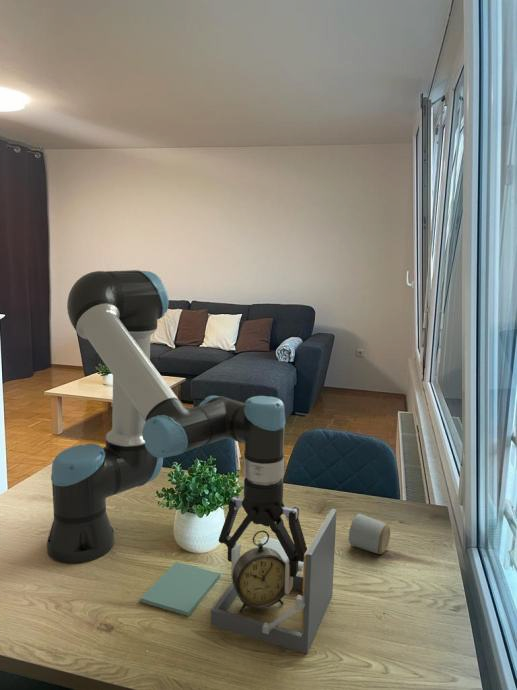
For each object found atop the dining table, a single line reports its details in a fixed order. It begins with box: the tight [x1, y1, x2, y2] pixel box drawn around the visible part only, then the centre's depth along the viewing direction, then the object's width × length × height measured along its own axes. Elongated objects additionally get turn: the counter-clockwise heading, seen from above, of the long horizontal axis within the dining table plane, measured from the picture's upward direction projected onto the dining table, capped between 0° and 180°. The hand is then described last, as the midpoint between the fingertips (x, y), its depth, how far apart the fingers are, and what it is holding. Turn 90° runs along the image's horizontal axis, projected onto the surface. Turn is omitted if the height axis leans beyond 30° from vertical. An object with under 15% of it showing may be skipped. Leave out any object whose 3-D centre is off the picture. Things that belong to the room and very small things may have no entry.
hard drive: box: [255, 536, 309, 571], centre depth 127 cm, size 2×8×12 cm
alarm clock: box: [232, 529, 286, 614], centre depth 107 cm, size 11×5×16 cm, turn 107°
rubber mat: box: [139, 561, 221, 617], centre depth 113 cm, size 11×14×1 cm
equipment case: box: [210, 508, 338, 655], centre depth 105 cm, size 19×19×19 cm
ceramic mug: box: [348, 513, 391, 555], centre depth 131 cm, size 11×8×8 cm
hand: (261, 582), depth 107 cm, fingers closed on alarm clock, 11 cm apart
